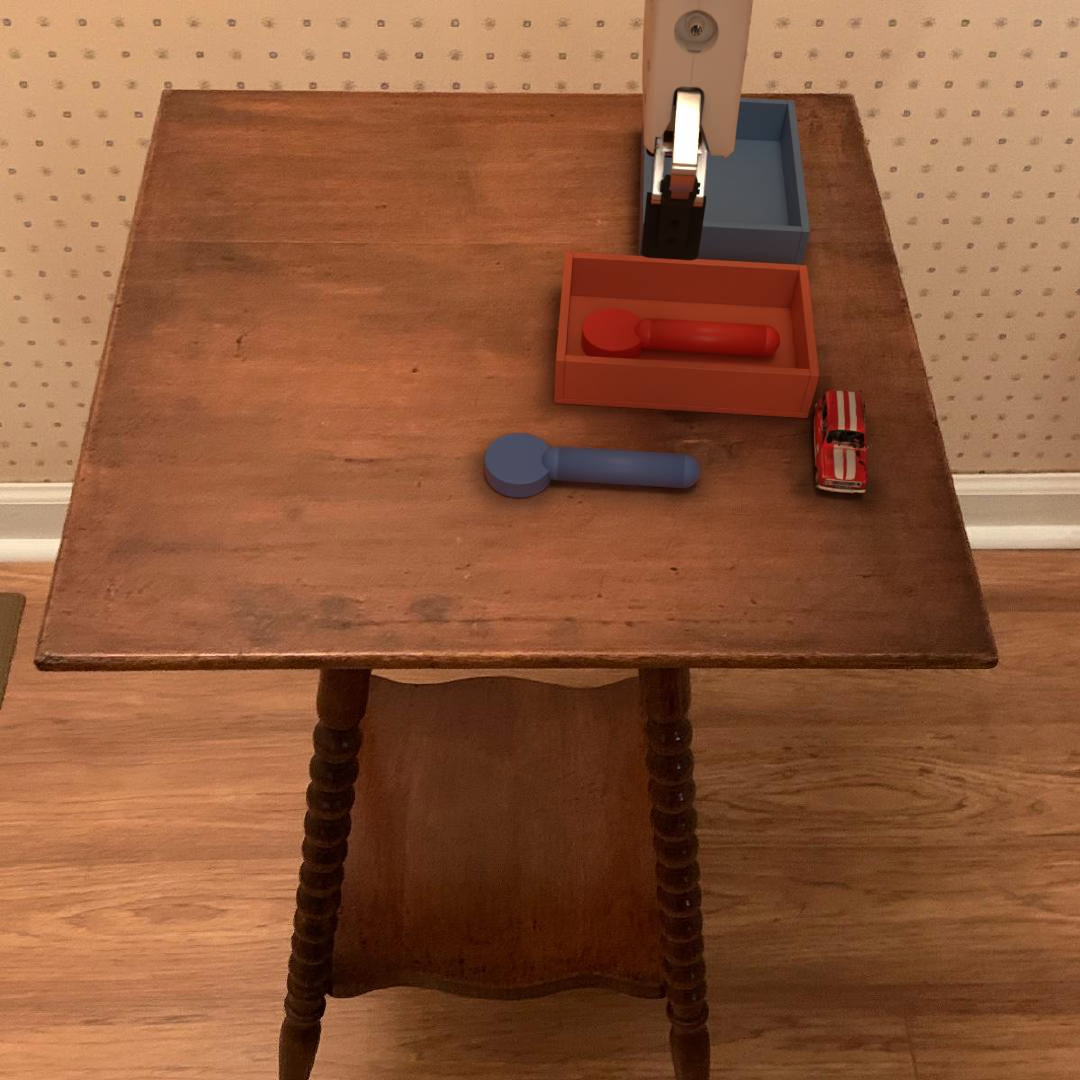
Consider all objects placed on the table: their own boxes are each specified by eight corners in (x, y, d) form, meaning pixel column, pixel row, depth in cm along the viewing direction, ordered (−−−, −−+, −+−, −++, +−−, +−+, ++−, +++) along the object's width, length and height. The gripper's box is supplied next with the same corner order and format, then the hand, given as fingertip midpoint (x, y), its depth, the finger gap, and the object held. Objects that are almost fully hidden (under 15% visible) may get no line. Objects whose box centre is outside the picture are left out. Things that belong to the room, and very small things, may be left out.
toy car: (812, 496, 76) (822, 463, 74) (809, 407, 81) (819, 373, 79) (868, 502, 76) (881, 469, 73) (862, 412, 81) (873, 378, 78)
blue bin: (785, 142, 100) (794, 99, 97) (799, 275, 90) (810, 231, 87) (641, 135, 101) (645, 92, 97) (638, 266, 90) (642, 222, 87)
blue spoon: (697, 457, 78) (701, 435, 76) (698, 509, 75) (703, 486, 74) (488, 445, 78) (487, 422, 77) (481, 496, 76) (481, 473, 74)
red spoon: (775, 332, 85) (780, 308, 83) (778, 375, 82) (784, 351, 81) (582, 321, 85) (584, 297, 84) (579, 363, 83) (581, 339, 81)
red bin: (796, 308, 87) (807, 264, 84) (807, 418, 80) (819, 375, 77) (563, 294, 88) (564, 251, 85) (554, 403, 81) (555, 360, 78)
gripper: (793, -2, 51) (736, 304, 65) (777, -169, 62) (731, 124, 76) (620, -12, 52) (599, 295, 65) (633, -176, 62) (613, 117, 76)
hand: (670, 203), depth 70 cm, fingers open, 9 cm apart
